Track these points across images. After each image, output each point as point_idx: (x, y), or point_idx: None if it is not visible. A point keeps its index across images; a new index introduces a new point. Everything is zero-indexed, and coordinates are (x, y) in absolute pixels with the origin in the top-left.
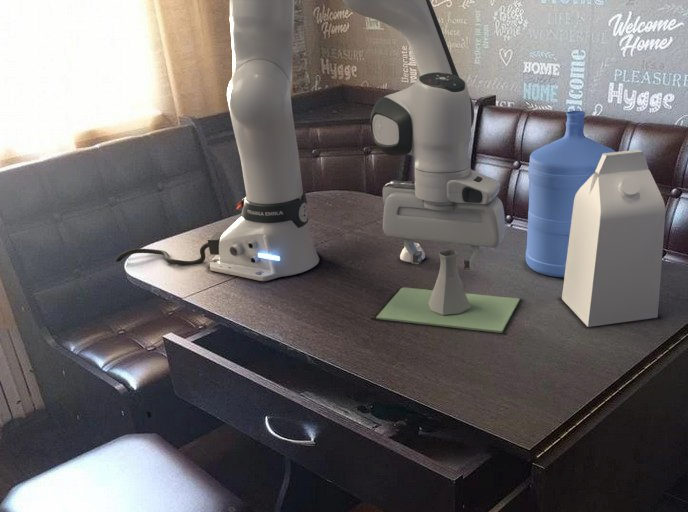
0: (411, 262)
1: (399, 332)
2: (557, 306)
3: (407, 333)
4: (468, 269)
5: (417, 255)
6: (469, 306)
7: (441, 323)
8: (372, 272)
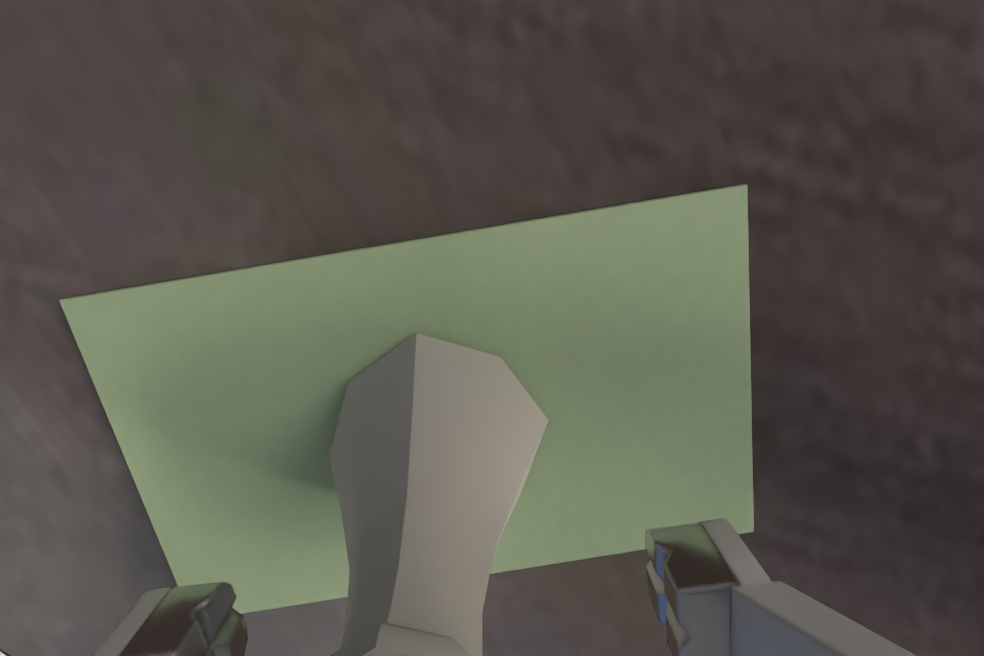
0: (717, 520)
1: (552, 88)
2: (24, 623)
3: (505, 95)
4: (184, 586)
5: (685, 586)
6: (330, 454)
7: (381, 254)
8: (949, 618)
